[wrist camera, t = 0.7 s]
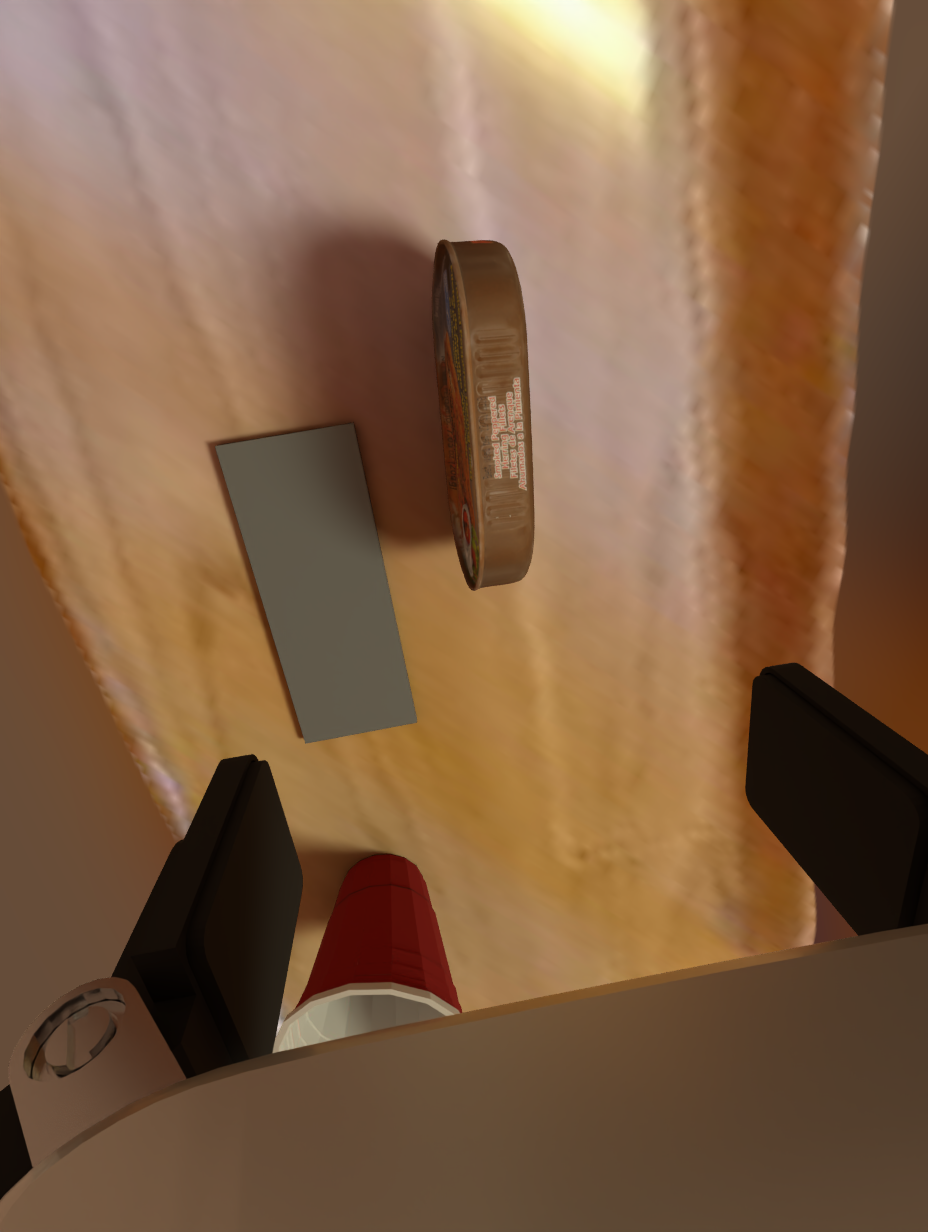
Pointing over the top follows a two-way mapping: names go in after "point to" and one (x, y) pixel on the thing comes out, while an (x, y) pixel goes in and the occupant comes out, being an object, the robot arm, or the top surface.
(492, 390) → the tin
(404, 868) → the plastic cup
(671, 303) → the top surface
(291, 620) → the mat
